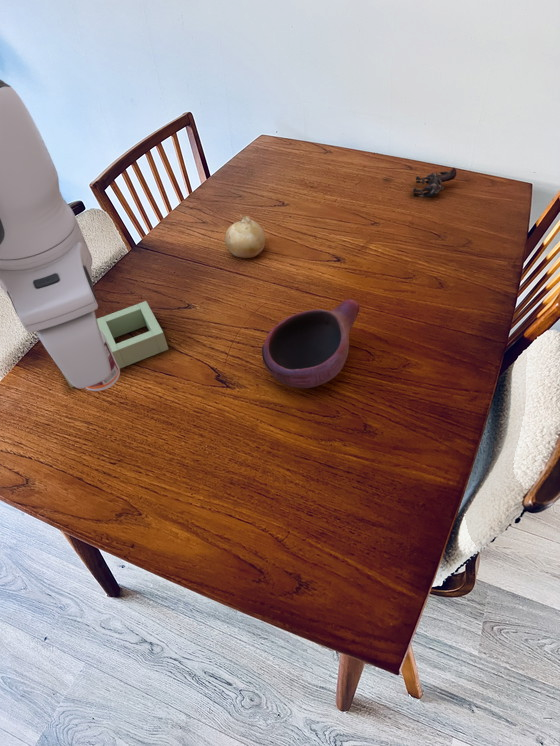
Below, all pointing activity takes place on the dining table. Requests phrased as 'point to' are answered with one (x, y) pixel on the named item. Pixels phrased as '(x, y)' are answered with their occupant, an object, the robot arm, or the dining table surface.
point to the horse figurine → (434, 183)
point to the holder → (137, 345)
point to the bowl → (310, 345)
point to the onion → (245, 238)
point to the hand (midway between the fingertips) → (89, 355)
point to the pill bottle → (114, 369)
